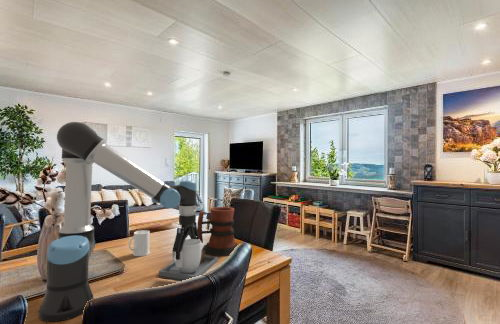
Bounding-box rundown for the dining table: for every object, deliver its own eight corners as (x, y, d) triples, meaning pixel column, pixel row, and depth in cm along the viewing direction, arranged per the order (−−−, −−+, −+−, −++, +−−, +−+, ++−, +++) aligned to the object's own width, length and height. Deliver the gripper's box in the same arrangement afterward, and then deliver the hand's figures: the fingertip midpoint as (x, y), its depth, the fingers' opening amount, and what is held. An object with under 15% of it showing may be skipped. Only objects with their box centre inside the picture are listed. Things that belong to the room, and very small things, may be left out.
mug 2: (164, 271, 117) (165, 242, 118) (179, 263, 127) (180, 236, 128) (191, 277, 111) (192, 247, 112) (205, 268, 121) (206, 240, 122)
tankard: (245, 256, 142) (246, 211, 142) (199, 260, 135) (200, 213, 135) (235, 244, 163) (236, 205, 163) (194, 247, 156) (195, 206, 156)
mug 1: (132, 259, 135) (132, 236, 135) (124, 255, 140) (124, 233, 140) (152, 253, 144) (153, 231, 144) (144, 250, 149) (144, 229, 150)
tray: (196, 283, 109) (196, 276, 109) (158, 278, 114) (158, 271, 114) (218, 263, 132) (218, 257, 132) (186, 259, 137) (186, 253, 137)
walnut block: (201, 263, 128) (202, 253, 128) (192, 263, 128) (192, 252, 128) (204, 259, 133) (204, 250, 133) (195, 259, 133) (195, 249, 133)
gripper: (180, 220, 106) (179, 272, 106) (206, 210, 130) (205, 252, 130) (164, 219, 108) (163, 270, 108) (193, 209, 132) (192, 251, 132)
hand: (186, 260), depth 119 cm, fingers open, 13 cm apart
